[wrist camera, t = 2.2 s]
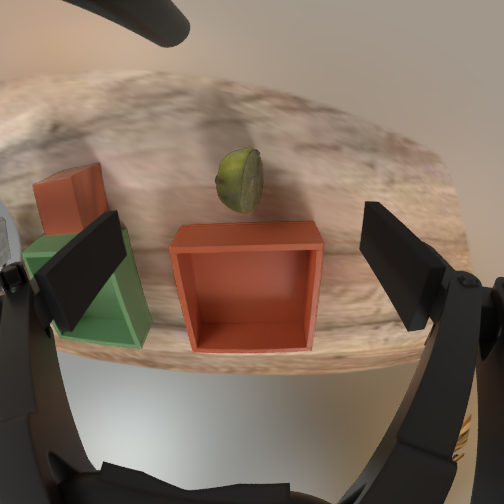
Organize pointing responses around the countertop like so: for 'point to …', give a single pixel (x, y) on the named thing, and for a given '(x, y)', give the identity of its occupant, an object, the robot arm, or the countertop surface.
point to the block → (71, 199)
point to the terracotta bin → (249, 285)
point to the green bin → (102, 299)
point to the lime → (240, 180)
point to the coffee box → (4, 243)
